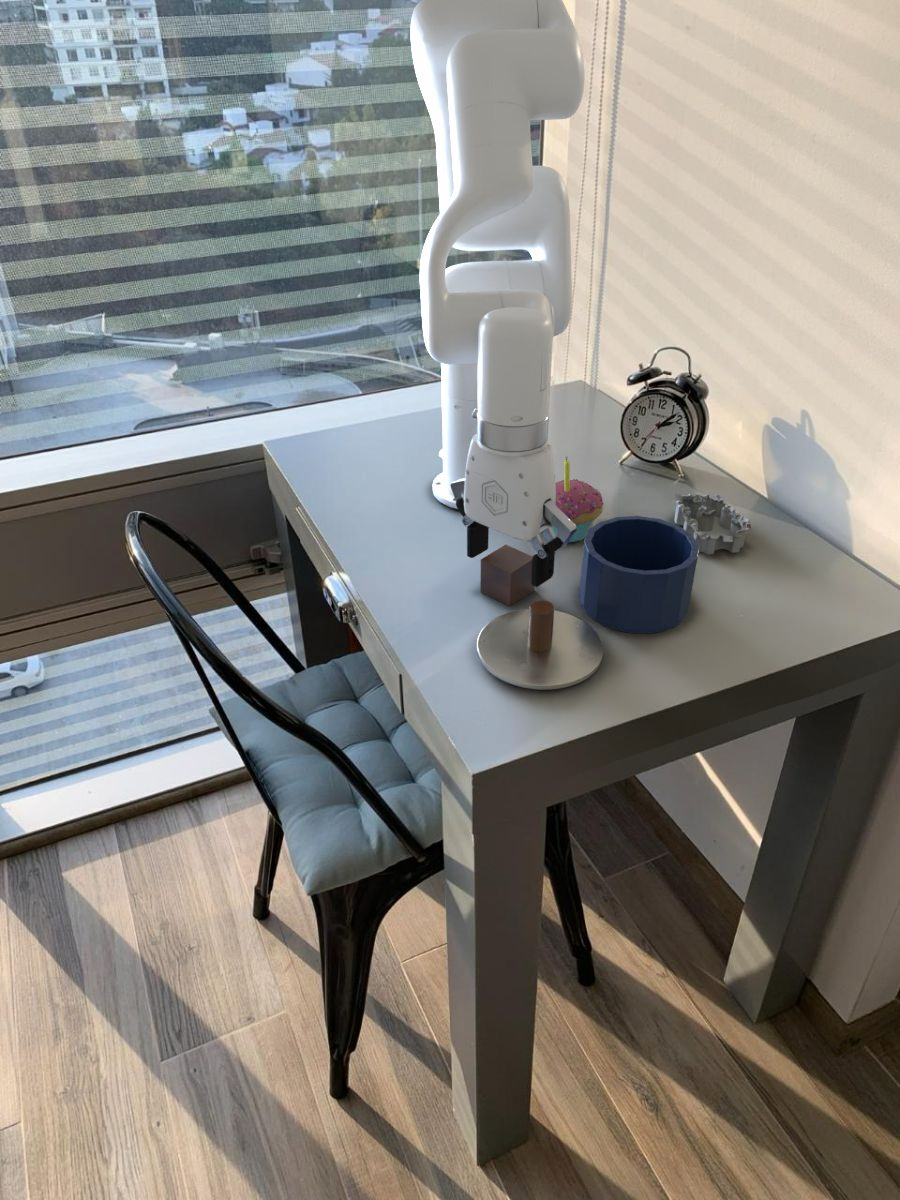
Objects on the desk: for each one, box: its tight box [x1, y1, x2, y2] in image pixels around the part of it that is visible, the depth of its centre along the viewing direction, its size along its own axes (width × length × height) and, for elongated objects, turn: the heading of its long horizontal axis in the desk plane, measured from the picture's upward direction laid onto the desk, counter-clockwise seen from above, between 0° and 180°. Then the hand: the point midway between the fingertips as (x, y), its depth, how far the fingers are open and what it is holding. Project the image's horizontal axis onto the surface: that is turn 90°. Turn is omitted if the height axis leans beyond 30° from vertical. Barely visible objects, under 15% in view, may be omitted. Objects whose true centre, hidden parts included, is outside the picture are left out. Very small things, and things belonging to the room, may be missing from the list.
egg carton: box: [673, 493, 752, 555], centre depth 117 cm, size 11×8×4 cm
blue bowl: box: [578, 515, 700, 635], centre depth 103 cm, size 13×13×8 cm
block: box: [479, 544, 535, 607], centre depth 106 cm, size 5×5×5 cm
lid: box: [476, 599, 604, 691], centre depth 96 cm, size 14×14×6 cm
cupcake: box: [551, 455, 604, 543], centre depth 115 cm, size 9×8×12 cm
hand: (509, 567), depth 105 cm, fingers open, 9 cm apart
